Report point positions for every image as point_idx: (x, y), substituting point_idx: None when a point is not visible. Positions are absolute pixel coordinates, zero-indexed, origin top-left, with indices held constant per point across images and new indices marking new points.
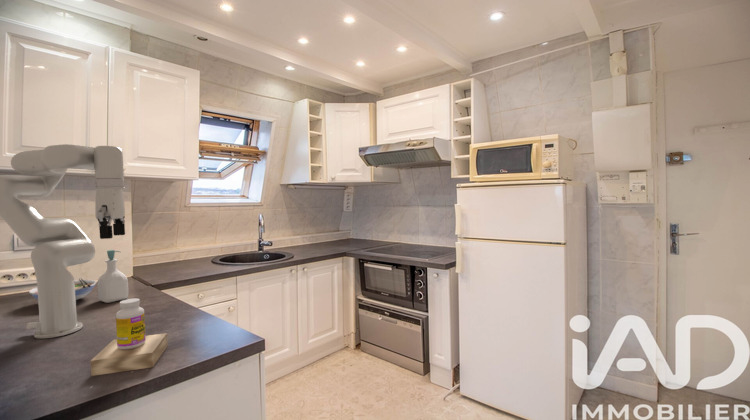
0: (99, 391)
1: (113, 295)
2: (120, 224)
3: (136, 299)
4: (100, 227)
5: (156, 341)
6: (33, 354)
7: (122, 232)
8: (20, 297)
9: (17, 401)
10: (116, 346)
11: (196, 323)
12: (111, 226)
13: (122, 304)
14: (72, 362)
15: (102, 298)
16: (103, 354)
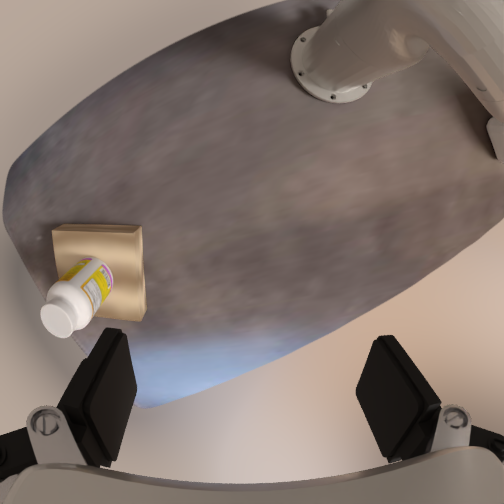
0: (28, 252)
1: (497, 138)
2: (392, 443)
3: (63, 332)
4: (70, 400)
5: (104, 311)
6: (196, 67)
7: (362, 399)
8: None
9: (26, 160)
10: (96, 251)
11: (254, 337)
12: (102, 459)
13: (41, 310)
14: (121, 165)
15: (494, 117)
16: (69, 241)
